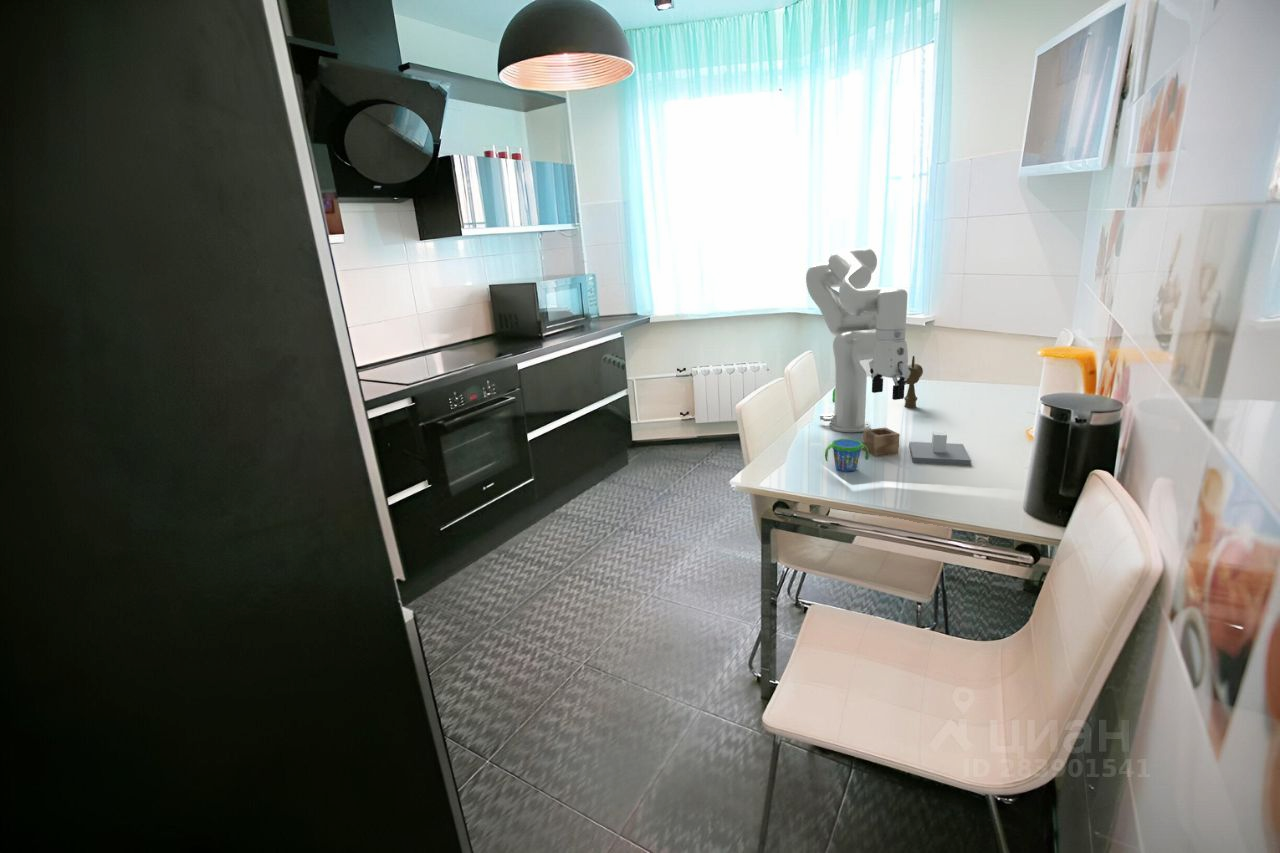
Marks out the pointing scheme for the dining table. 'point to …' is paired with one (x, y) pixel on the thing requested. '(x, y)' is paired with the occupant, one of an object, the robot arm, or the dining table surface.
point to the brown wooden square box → (881, 441)
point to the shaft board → (939, 458)
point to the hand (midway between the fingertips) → (887, 395)
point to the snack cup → (846, 454)
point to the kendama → (912, 384)
